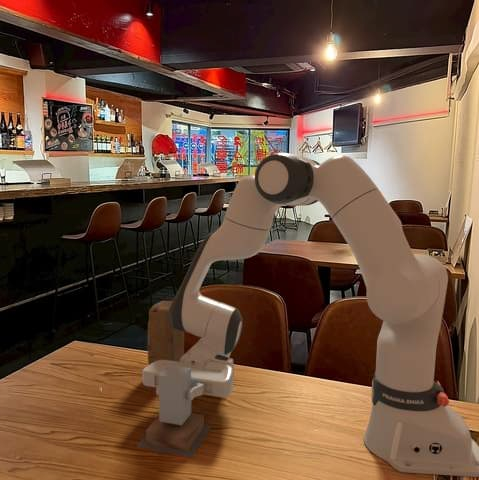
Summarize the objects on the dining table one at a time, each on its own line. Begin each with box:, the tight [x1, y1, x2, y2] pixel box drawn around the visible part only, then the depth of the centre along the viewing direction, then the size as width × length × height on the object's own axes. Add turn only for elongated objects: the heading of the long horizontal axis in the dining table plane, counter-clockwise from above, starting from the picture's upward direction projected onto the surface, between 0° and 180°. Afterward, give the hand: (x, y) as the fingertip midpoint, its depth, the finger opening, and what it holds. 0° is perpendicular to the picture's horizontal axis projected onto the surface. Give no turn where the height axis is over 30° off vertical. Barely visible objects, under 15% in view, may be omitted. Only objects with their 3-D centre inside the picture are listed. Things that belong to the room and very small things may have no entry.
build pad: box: [136, 423, 213, 458], centre depth 99 cm, size 12×12×1 cm
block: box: [147, 300, 185, 366], centre depth 128 cm, size 11×8×20 cm
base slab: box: [145, 412, 205, 451], centre depth 98 cm, size 9×9×3 cm
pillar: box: [158, 366, 192, 425], centre depth 97 cm, size 5×5×10 cm
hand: (173, 394), depth 96 cm, fingers closed on pillar, 5 cm apart
